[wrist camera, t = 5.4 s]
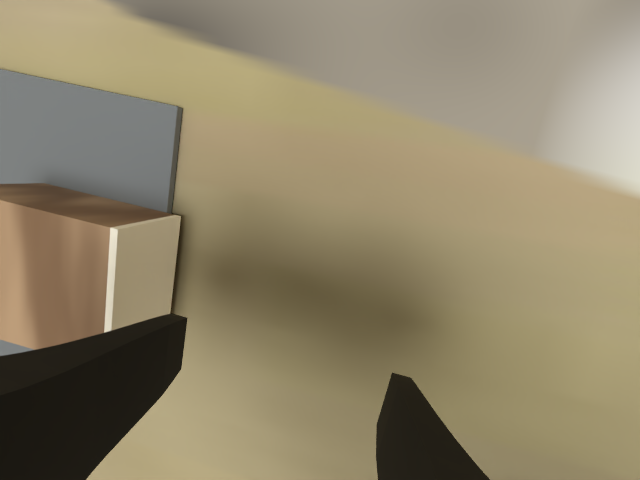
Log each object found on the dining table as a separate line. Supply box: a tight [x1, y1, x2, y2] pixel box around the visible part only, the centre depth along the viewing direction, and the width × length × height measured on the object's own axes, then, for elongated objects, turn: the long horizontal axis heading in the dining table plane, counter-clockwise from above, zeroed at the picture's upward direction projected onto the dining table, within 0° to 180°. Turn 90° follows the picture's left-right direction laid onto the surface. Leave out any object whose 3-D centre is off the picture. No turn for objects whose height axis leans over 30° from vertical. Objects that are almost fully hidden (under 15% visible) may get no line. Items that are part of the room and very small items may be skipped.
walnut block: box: [0, 183, 181, 350], centre depth 14 cm, size 4×6×8 cm
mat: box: [0, 69, 183, 356], centre depth 16 cm, size 14×16×1 cm
